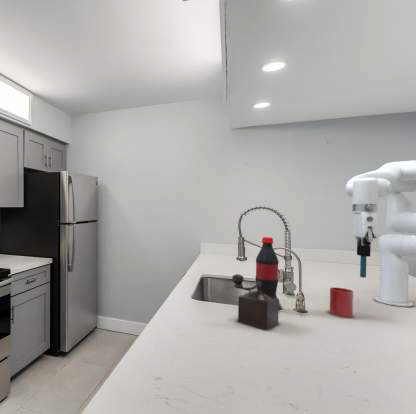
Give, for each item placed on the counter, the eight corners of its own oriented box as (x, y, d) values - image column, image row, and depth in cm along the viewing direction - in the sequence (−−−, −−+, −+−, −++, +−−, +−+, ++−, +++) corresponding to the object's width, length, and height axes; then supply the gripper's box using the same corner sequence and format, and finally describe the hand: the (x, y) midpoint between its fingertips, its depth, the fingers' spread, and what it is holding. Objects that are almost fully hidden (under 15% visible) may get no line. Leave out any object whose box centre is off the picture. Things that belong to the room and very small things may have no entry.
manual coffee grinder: (248, 315, 122) (249, 269, 122) (279, 324, 114) (280, 274, 114) (228, 324, 112) (229, 274, 112) (260, 334, 104) (261, 280, 104)
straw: (360, 276, 125) (361, 241, 125) (366, 277, 123) (367, 241, 123) (359, 277, 124) (360, 241, 124) (365, 277, 122) (366, 242, 122)
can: (332, 310, 131) (333, 286, 131) (354, 315, 125) (355, 290, 125) (326, 313, 127) (327, 289, 127) (349, 319, 121) (350, 293, 121)
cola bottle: (275, 306, 134) (276, 236, 134) (279, 312, 126) (281, 238, 126) (253, 304, 137) (254, 235, 137) (256, 310, 129) (258, 237, 129)
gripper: (386, 209, 115) (385, 259, 115) (367, 209, 130) (366, 254, 130) (361, 208, 118) (360, 257, 117) (345, 209, 132) (344, 252, 132)
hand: (363, 255), depth 124 cm, fingers closed on straw, 1 cm apart
